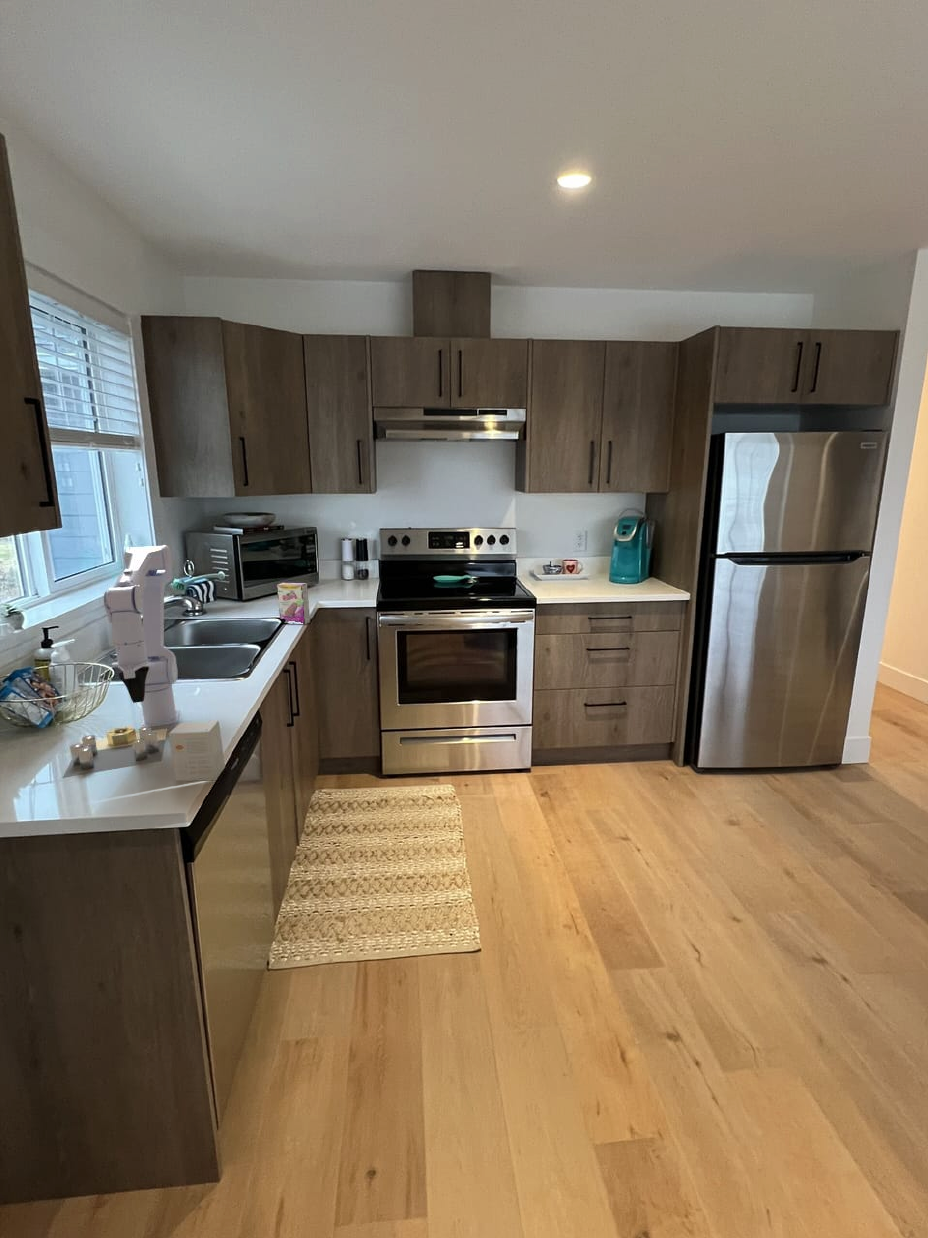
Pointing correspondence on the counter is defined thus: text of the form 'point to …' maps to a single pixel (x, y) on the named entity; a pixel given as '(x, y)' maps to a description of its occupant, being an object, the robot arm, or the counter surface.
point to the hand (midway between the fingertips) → (138, 701)
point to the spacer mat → (117, 756)
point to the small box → (197, 751)
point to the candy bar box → (294, 602)
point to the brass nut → (121, 736)
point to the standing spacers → (88, 749)
